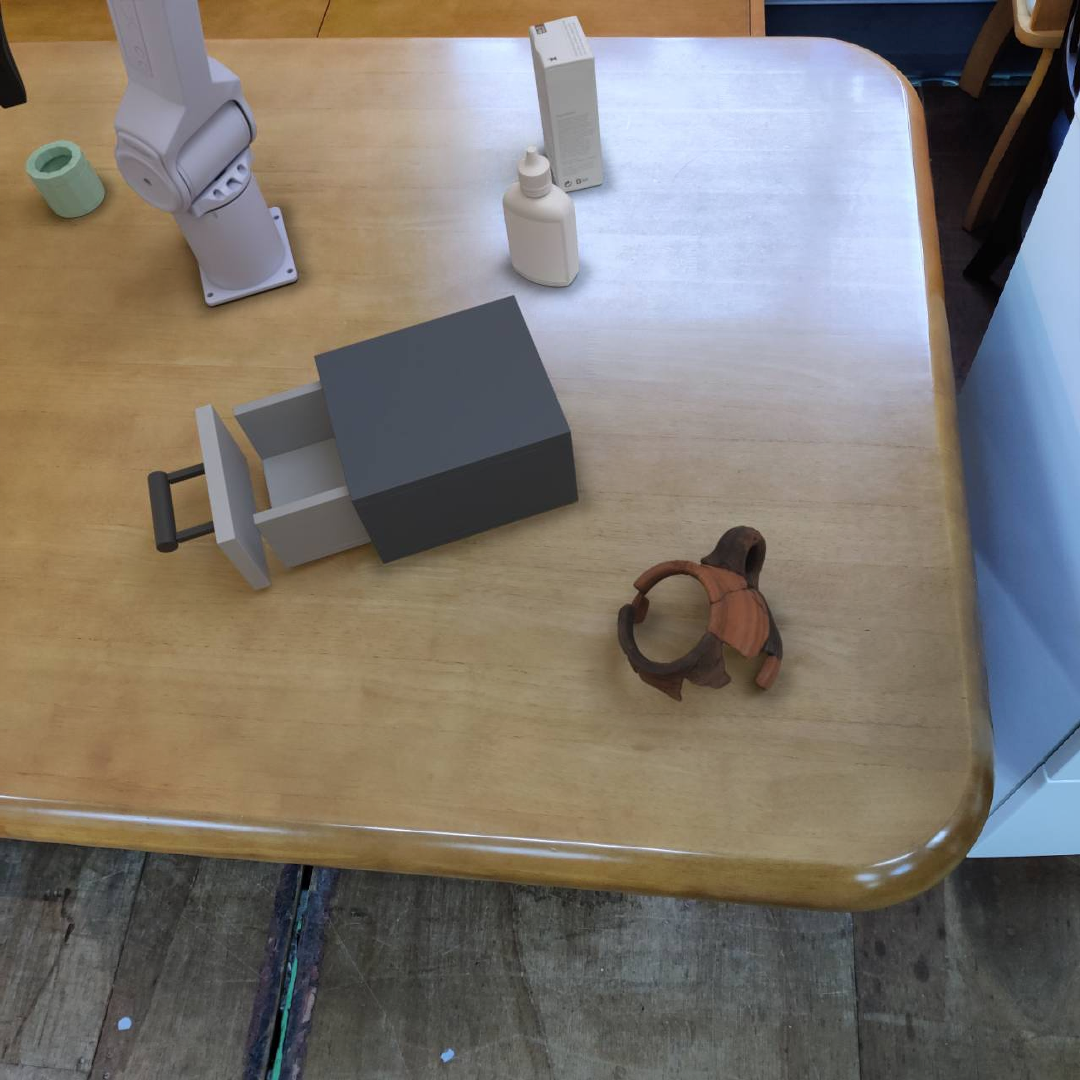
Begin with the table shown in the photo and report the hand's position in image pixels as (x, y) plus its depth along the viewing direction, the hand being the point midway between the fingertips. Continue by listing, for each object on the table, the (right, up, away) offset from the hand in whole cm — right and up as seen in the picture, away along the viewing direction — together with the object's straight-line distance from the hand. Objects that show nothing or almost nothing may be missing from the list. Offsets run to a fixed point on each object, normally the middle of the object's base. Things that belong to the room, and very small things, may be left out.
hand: (15, 101), depth 80 cm
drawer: (+27, -35, -11) cm, 45 cm away
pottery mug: (+55, -43, -18) cm, 73 cm away
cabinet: (+38, -31, -10) cm, 50 cm away
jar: (+1, -5, +9) cm, 10 cm away
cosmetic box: (+47, -4, +5) cm, 48 cm away
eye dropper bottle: (+45, -15, -1) cm, 47 cm away
